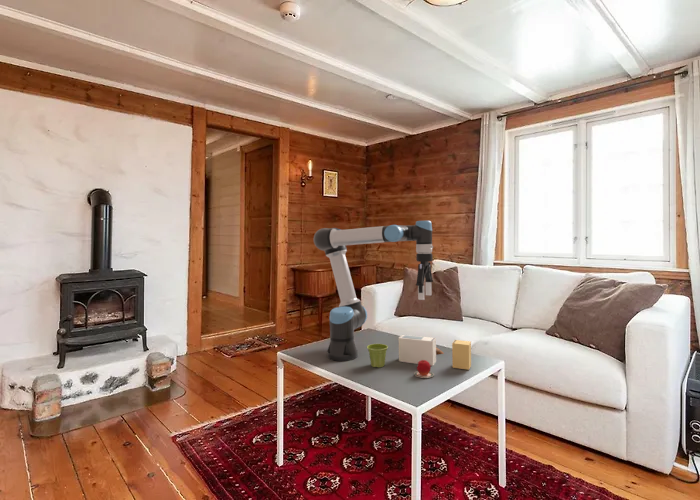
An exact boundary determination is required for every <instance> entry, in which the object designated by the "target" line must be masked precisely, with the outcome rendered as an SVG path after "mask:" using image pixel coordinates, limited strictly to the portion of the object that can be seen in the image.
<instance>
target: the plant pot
mask: <svg viewBox="0 0 700 500" xmlns="http://www.w3.org/2000/svg"><path fill="white" fill-rule="evenodd" d="M366 348H367V350H368V352H369V360H370V366H371V367H373V368H383V367H384V366H385V365H386V355H387V350H388V348H389V346H388V345H387V344H383V343H373V344H372V343H371V344H368V345H367V346H366Z"/></svg>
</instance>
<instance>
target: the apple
mask: <svg viewBox="0 0 700 500" xmlns="http://www.w3.org/2000/svg"><path fill="white" fill-rule="evenodd" d="M431 367H432V366H431V365H430V364H429V362H428V361H426V360H421V361H419V362H418V364H417V367H416V370H417V371H415V372H414V373H413V374H414V376H415V377H417V378H422V379H428V378H433V377H434V376H435V373H433V372H431Z"/></svg>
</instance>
